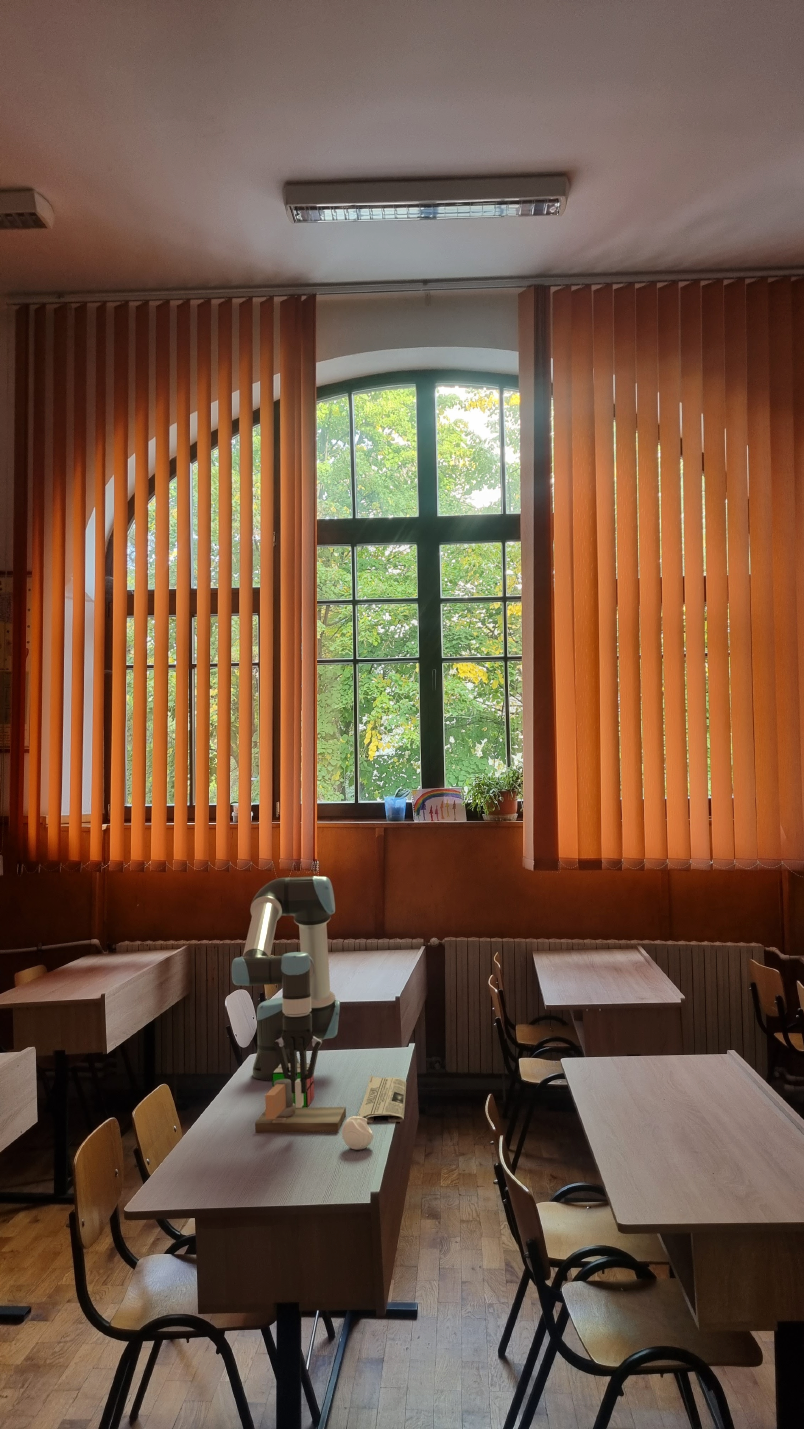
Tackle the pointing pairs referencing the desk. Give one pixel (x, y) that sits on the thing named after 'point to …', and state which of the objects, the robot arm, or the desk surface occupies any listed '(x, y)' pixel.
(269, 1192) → the desk surface
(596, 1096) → the desk surface
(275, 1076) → the puzzle cube
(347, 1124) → the baseball
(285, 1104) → the lever
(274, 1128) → the plate
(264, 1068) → the robot arm
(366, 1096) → the newspaper
